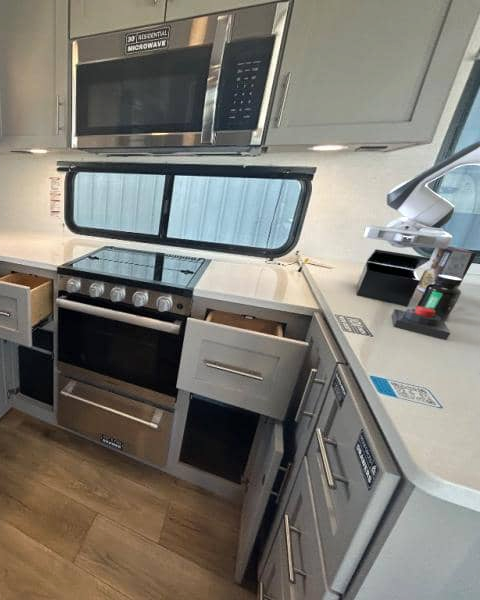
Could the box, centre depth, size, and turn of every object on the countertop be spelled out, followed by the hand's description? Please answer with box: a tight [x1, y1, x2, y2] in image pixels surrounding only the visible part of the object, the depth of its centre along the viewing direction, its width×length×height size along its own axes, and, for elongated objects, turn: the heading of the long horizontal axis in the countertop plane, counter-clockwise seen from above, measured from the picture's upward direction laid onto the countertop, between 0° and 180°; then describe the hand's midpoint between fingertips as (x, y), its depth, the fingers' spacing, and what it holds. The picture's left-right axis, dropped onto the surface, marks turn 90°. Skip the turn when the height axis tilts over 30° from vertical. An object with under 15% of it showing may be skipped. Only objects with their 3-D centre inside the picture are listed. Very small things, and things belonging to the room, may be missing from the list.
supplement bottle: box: [415, 275, 463, 321], centre depth 94 cm, size 7×7×12 cm
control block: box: [391, 308, 451, 341], centre depth 87 cm, size 10×10×4 cm
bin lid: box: [366, 249, 431, 271], centre depth 106 cm, size 16×13×1 cm
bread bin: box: [355, 261, 420, 308], centre depth 109 cm, size 16×13×9 cm
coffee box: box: [416, 246, 478, 293], centre depth 112 cm, size 9×6×16 cm
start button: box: [414, 305, 436, 317], centre depth 86 cm, size 4×4×2 cm
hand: (407, 239), depth 100 cm, fingers closed
